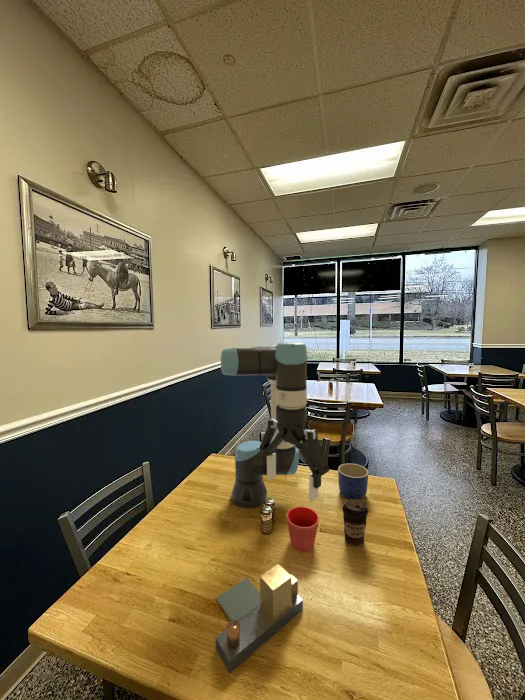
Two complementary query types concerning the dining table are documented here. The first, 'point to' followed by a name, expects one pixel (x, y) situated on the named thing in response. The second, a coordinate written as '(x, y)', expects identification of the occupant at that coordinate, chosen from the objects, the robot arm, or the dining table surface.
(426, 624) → the dining table surface
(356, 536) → the coffee cup
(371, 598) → the dining table surface
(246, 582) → the mat
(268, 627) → the plane body
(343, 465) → the planter
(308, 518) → the flower pot
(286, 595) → the tan wooden block
